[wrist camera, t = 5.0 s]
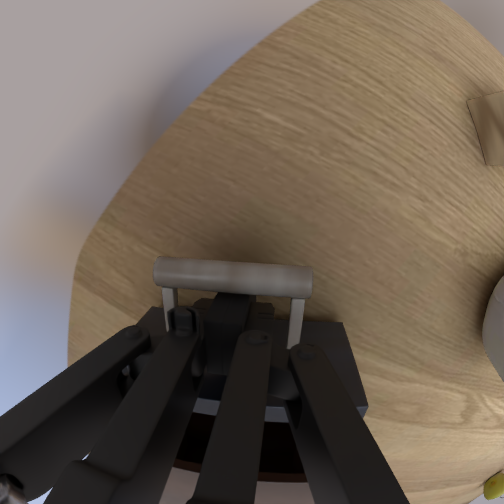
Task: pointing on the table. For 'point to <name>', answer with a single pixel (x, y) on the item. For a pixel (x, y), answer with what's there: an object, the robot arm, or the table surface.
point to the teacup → (495, 328)
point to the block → (490, 126)
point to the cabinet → (267, 491)
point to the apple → (494, 486)
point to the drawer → (284, 334)
